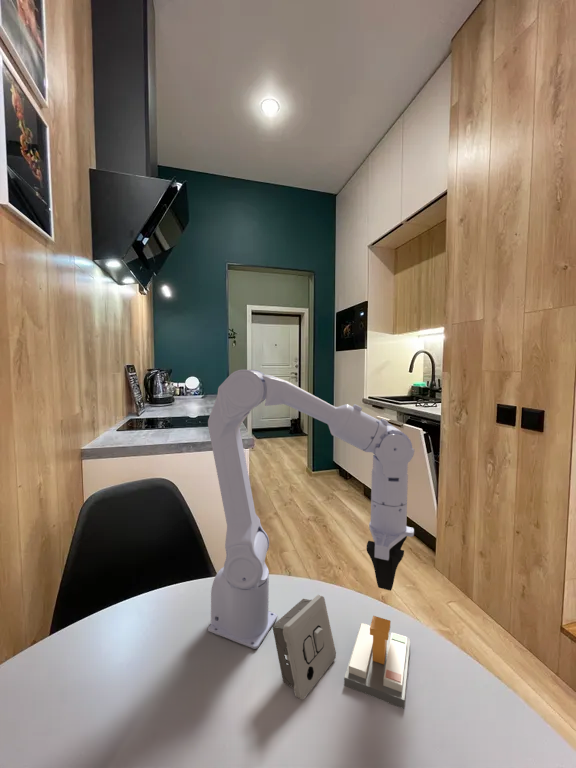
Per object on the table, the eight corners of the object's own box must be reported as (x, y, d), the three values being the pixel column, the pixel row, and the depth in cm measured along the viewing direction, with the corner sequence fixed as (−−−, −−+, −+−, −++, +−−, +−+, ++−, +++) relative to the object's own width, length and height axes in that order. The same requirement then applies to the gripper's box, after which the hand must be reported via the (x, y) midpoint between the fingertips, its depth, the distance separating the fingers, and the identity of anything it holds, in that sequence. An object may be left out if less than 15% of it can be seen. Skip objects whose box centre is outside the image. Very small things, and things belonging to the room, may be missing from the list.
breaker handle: (369, 660, 50) (369, 628, 50) (372, 646, 53) (373, 615, 53) (387, 667, 49) (388, 633, 49) (389, 652, 52) (390, 620, 52)
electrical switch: (301, 705, 45) (296, 634, 45) (271, 685, 48) (267, 619, 48) (337, 658, 52) (333, 597, 53) (309, 644, 56) (306, 587, 56)
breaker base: (344, 685, 48) (344, 669, 48) (360, 630, 58) (360, 617, 58) (404, 708, 45) (404, 692, 45) (410, 646, 55) (410, 632, 55)
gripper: (411, 522, 48) (408, 615, 49) (417, 489, 61) (414, 562, 62) (361, 513, 51) (359, 601, 51) (377, 483, 64) (375, 554, 65)
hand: (386, 579), depth 57 cm, fingers open, 4 cm apart
